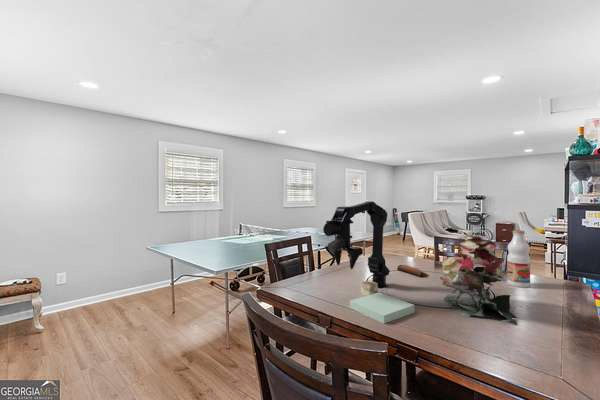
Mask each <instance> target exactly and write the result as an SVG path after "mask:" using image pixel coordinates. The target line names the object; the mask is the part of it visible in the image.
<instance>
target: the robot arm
mask: <svg viewBox="0 0 600 400" xmlns="http://www.w3.org/2000/svg"><path fill="white" fill-rule="evenodd" d="M364 212H366V213H367V215H368V216H369V217H370V223H371V224H372V226H373V227H372V251H371V253H372V254H371V255H370V256H369V257H368V258H367V266H368V269H369V272H370V273H371V274H372V282H375V283H378V288H379V289H381V288H384V287H388V286H389V284H387V276H389V275H390V269H389V268H388V267H387V265H386V259H385V257H384V254H383V245H384V244H383V243H384V242H383V241H384V226H385V225H386V223H387V221H388V212H387V210H386V209H384V208H383V207H382V206H380V205H378V204H377V203H376V202H374V201H371V200H370V201H367V200H366V201H365V202H362V203H359V204H355V205H351V206H337V207H336V209H335V210H334V214H333V215H332V217H331V219H330V220H326V223H325V224H324V226H323V229H322V230H323V233H324V235H325V236H327V237H332V236H335V239H334V240H332V241H330V242H329V243H327V250H328V251H329V252H330V253H331V254H333V257H334V260H335V262H336V265H337V266H340V264H341V258H342V254H343V253H342V252H344V251H345V252H347V257H348V258H349V268H350V270H354V267H355V265H356V263H357V260H358V259H359V257H360V256H362V255H364V251H363V250H364V249H363V248H362V247H360V246H353V244H352V243H351V239H352V238H353V235H351V224H354V221H353V220H352V219H353V218H354V217H355V215H358V214H360V213H364Z"/></svg>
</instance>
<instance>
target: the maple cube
mask: <svg viewBox="0 0 600 400" xmlns="http://www.w3.org/2000/svg"><path fill="white" fill-rule="evenodd" d="M378 288H379V287H378V283H375V282H373V280H365V281H361V282H360V295H363V296H368V295H372V294H375V293H379V292H378Z"/></svg>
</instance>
